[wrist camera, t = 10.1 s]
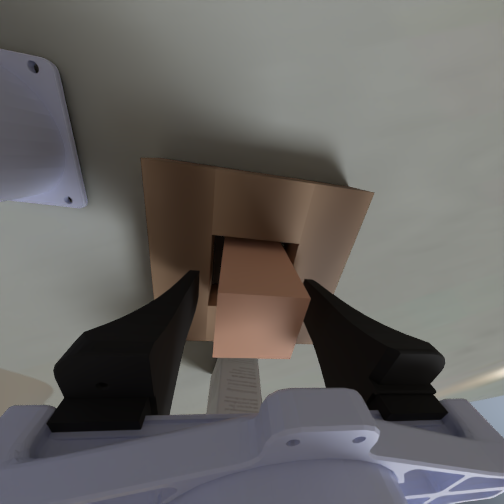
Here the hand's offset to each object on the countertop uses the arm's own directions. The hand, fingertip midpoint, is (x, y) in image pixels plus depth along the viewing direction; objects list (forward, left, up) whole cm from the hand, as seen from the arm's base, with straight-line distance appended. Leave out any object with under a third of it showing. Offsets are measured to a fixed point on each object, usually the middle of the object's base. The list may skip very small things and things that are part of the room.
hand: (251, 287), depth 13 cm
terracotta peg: (0, 0, -4) cm, 4 cm away
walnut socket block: (0, 0, -4) cm, 4 cm away
